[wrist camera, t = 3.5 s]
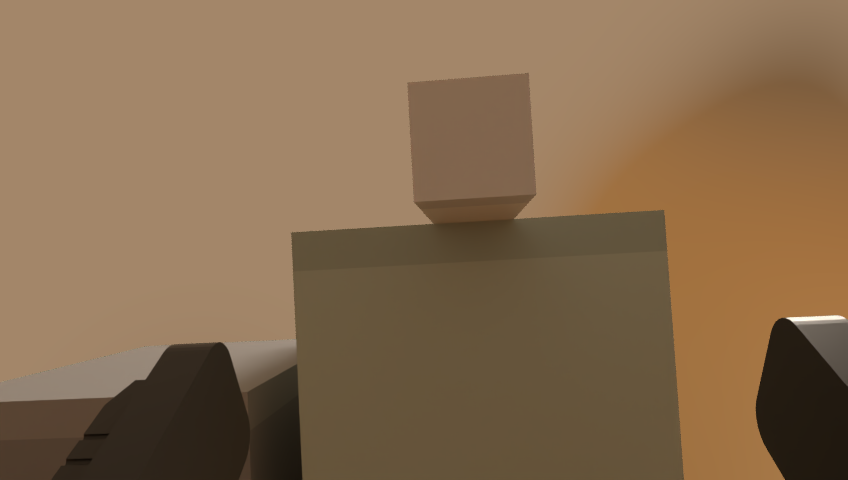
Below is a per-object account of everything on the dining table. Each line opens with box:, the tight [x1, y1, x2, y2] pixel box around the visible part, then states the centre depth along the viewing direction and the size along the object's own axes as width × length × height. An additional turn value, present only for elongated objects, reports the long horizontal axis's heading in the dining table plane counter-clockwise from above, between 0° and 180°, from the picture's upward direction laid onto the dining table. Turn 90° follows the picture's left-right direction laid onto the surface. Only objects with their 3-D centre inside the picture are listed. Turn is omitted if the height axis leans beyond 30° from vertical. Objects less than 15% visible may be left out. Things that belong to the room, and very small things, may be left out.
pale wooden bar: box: [408, 73, 536, 224], centre depth 26 cm, size 22×3×3 cm, turn 176°
